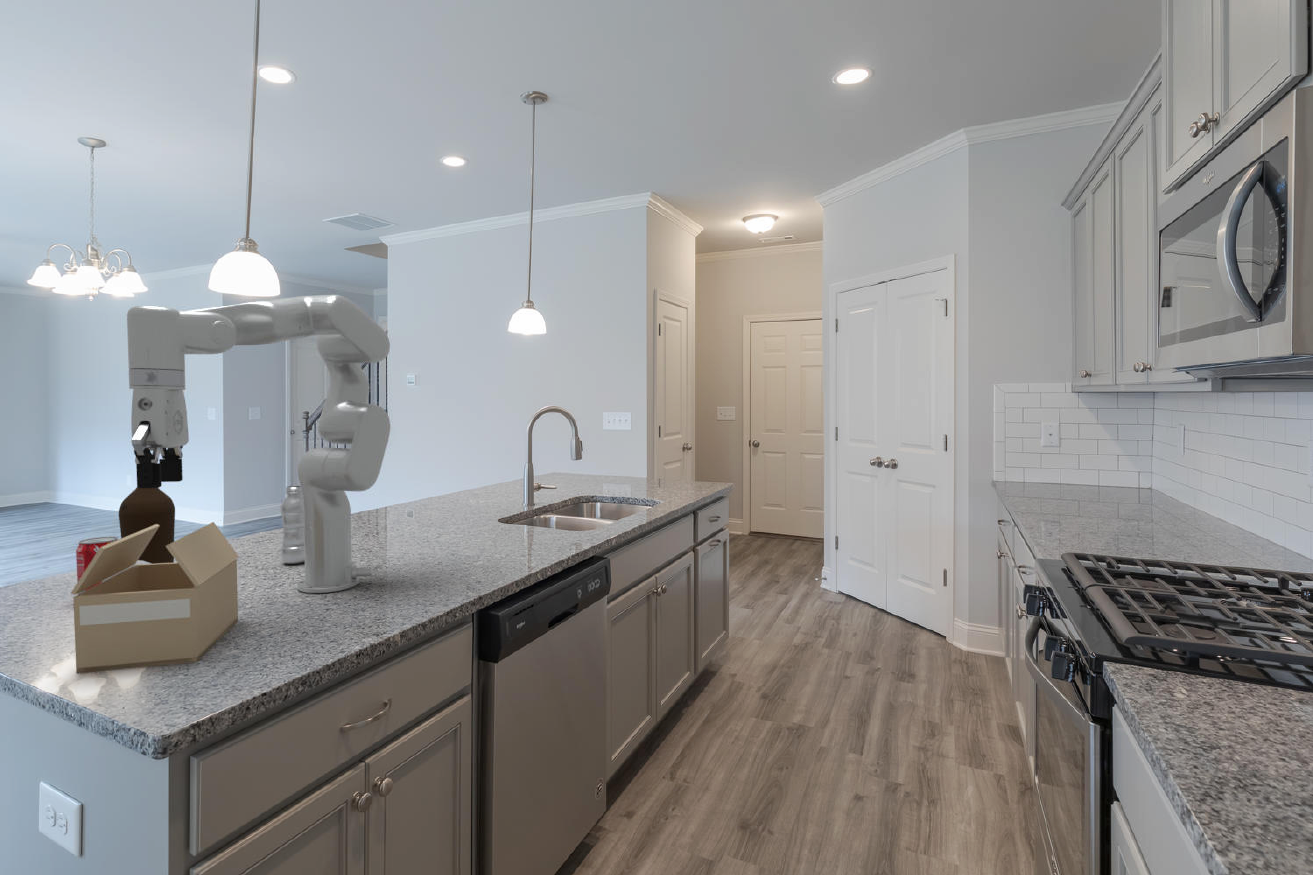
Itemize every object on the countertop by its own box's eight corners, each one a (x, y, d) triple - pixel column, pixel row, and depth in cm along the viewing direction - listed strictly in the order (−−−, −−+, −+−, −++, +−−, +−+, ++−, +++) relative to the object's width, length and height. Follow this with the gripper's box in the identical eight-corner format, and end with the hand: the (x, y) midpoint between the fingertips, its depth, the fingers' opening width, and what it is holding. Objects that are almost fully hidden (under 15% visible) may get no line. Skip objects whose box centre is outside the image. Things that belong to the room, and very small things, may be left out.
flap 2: (165, 546, 101) (169, 544, 102) (210, 523, 120) (213, 521, 120) (196, 587, 103) (199, 585, 103) (235, 558, 121) (238, 556, 122)
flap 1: (160, 525, 117) (156, 524, 117) (104, 548, 99) (100, 547, 99) (135, 563, 117) (131, 562, 116) (74, 594, 98) (70, 593, 98)
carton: (238, 620, 122) (236, 559, 122) (196, 662, 103) (194, 589, 103) (138, 628, 118) (136, 564, 117) (76, 673, 99) (72, 597, 98)
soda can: (97, 607, 129) (94, 544, 128) (68, 604, 131) (66, 541, 130) (132, 597, 136) (130, 536, 135) (105, 594, 138) (102, 534, 137)
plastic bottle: (288, 560, 168) (286, 484, 167) (315, 559, 169) (313, 484, 168) (275, 566, 162) (274, 488, 161) (303, 566, 162) (302, 488, 161)
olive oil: (160, 578, 150) (157, 472, 148) (109, 580, 148) (105, 473, 147) (186, 567, 160) (183, 468, 159) (139, 568, 159) (135, 468, 157)
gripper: (160, 379, 101) (164, 490, 102) (203, 382, 117) (205, 478, 118) (103, 378, 99) (107, 492, 100) (154, 381, 115) (157, 479, 116)
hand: (160, 483), depth 109 cm, fingers open, 7 cm apart
